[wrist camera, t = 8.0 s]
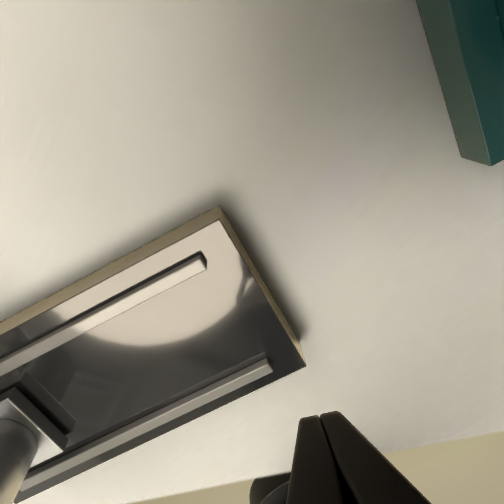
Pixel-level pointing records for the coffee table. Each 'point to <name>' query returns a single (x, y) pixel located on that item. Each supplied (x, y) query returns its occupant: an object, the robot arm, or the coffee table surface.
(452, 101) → the button block
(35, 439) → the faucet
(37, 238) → the coffee table surface
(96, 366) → the slide rail base
